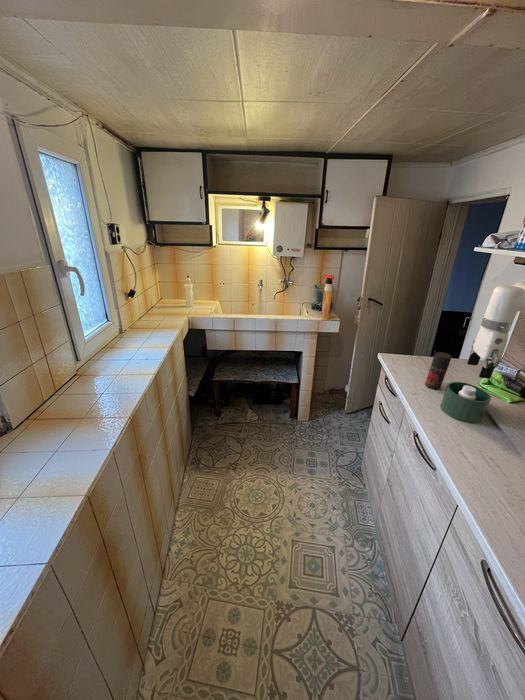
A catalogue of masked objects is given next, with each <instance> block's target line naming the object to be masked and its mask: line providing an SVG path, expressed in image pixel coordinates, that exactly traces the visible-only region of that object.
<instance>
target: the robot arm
mask: <svg viewBox="0 0 525 700" xmlns="http://www.w3.org/2000/svg"><path fill="white" fill-rule="evenodd" d="M486 307H487V308H486V310H485V313H484V315H483V317H482V321H481V323H480V328H479V330H478V333H476V337H475V339H473V340H472V345H471V351H470V354H469V357H468V360H467V362H466V363H467V365H469V366H476V367H477V366H478V365H479V362H480V360H481V359H482V360H483V366H481V370H480V372H479V374H478V377H479V378H480V379H486V380H487V379H491V377H492V375H493V373H494V370H496V368H497V367H498V366H499V364H501V363H502V358H503V355H504V353H505V349H506V347H507V343H508V338H509V333H510V330H511V328H512V326H513V323H514V321H515V319H516V316H517V314H518V312H523V313H525V278H524V279H522V280H520V281H518V282H517V283H515V284H513V285H508V284H503V285H502V284H501V285H497V286H495V287H494V289H493V291H492V293H491V296H490V299H489V302H488V304H487V306H486ZM489 362H490V363H489Z"/></svg>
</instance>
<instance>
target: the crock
mask: <svg viewBox="0 0 525 700" xmlns="http://www.w3.org/2000/svg"><path fill="white" fill-rule="evenodd" d="M465 385H467V386H471V387H474V388H475V389H476V393H475V396H476V399H475V401H474V400H470V399H466V398H464V397H461V396H459V395H458V393H459V391H461V390H462V388H463V386H465ZM491 401H492V396H491V394H490V393H488V392H487V391H485V390H484V389H483V388H480V387H479V386H476V385H473V384H471V383H467V382H463V381H451V382H449V383H448V384H446V387H445V391H444V393H443V396H442V399H441V400H440V405H439V407H440V409H441V411H442V412H443V413H444V414H445V415H447V416H449V417H450V418H452V419H454V420H457V421H460V422H463V423H468V424H477V423H480V422H481V421H482V420H483V418H484V416H485V414H486V411H487V409H488V406H489V405H490V402H491Z"/></svg>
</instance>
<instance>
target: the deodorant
mask: <svg viewBox="0 0 525 700" xmlns="http://www.w3.org/2000/svg"><path fill="white" fill-rule="evenodd" d="M451 359H452V355H451V354H449V353H446V352H443V351H436V352H434V355H433V358H432V361H431V364H430V368H429V369H428V373H427V376H426V380H425V382H424V386H425V387H426V388H428V389H430V390H433V391H440V390H441V388H442V385H443V382H444V379H445V378H446V374H447V371H448V369H449V365H450V363H451Z"/></svg>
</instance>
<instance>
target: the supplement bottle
mask: <svg viewBox="0 0 525 700" xmlns="http://www.w3.org/2000/svg"><path fill="white" fill-rule="evenodd" d="M475 393H476V389H475V388H474V387H471V386H467V385H465V386H463V388H462V390H461V391H459V393H458V395H459V396H461V397H464V398H466V399H470V400H474V401H475V399H476V396H475Z"/></svg>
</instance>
